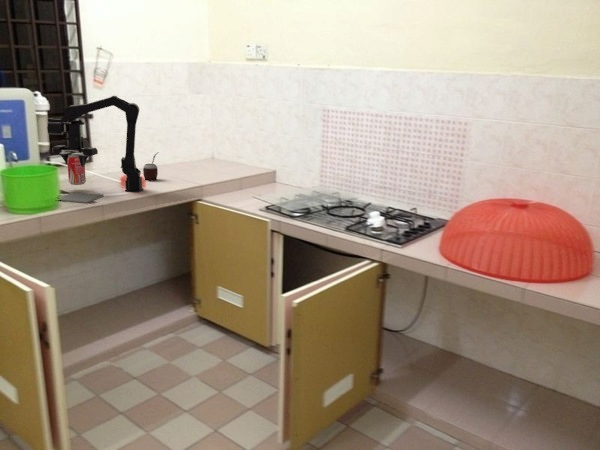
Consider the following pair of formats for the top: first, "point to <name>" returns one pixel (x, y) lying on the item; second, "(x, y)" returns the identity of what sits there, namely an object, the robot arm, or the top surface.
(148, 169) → the mate gourd
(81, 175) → the soda can
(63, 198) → the charcoal mat
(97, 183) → the top surface
